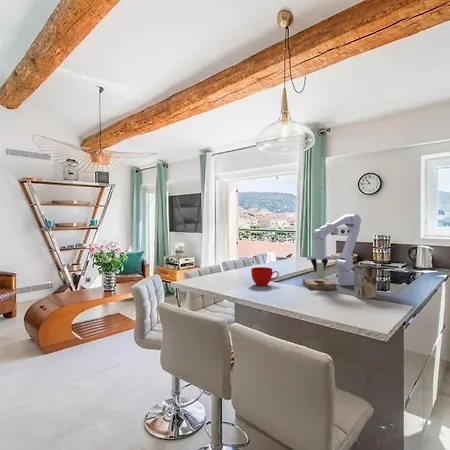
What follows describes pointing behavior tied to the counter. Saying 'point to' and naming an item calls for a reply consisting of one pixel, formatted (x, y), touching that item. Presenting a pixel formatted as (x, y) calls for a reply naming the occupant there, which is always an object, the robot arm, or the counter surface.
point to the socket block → (319, 284)
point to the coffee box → (365, 282)
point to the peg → (319, 270)
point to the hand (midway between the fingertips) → (319, 271)
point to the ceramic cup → (262, 275)
